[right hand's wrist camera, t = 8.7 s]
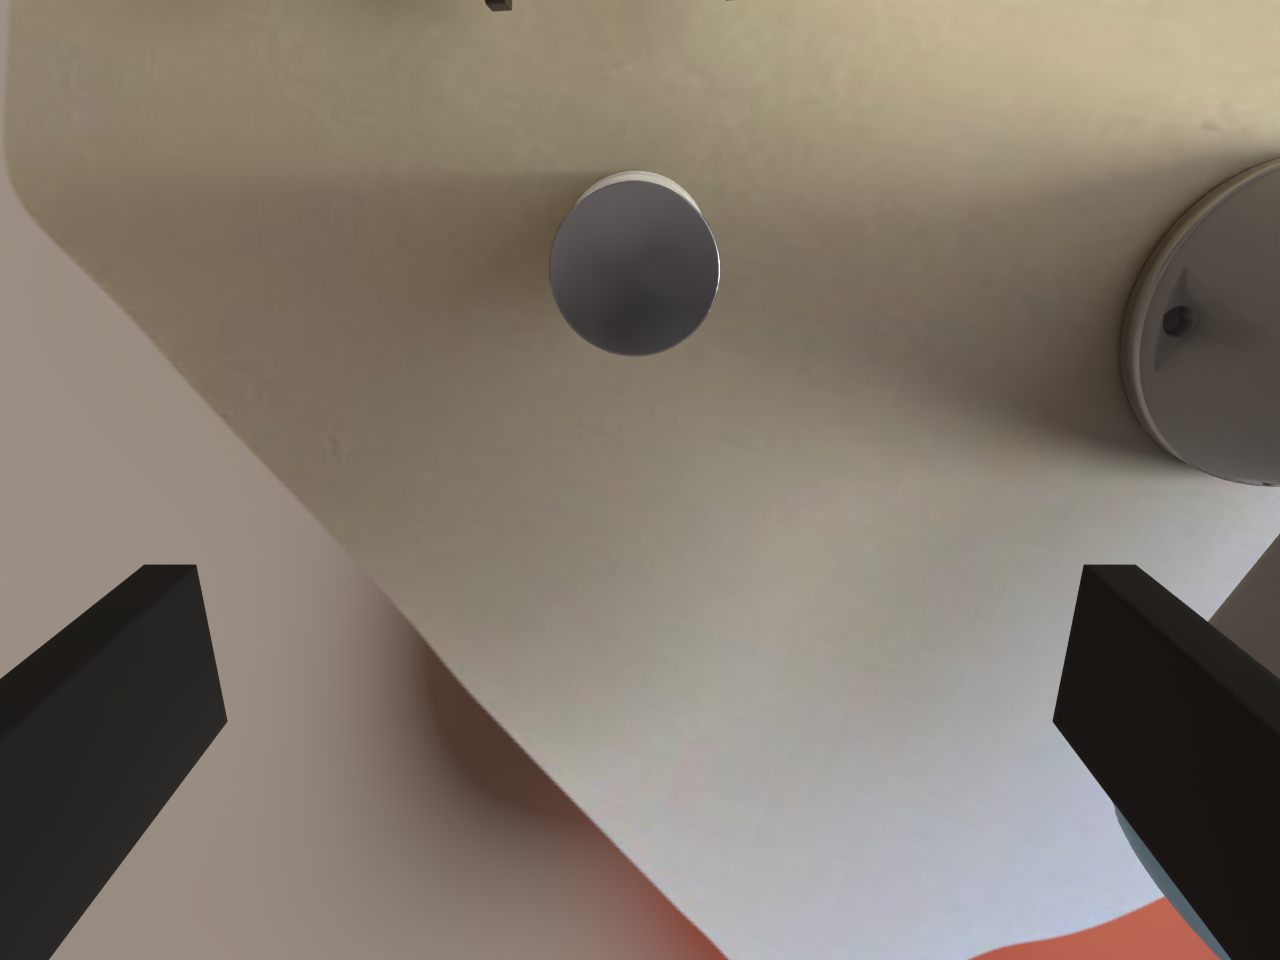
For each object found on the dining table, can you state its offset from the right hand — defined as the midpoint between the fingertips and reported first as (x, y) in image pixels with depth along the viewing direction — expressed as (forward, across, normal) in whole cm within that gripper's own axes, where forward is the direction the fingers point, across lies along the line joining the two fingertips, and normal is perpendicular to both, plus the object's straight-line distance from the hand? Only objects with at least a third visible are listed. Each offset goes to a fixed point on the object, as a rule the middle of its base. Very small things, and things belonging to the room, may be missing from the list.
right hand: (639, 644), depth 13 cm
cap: (+8, 0, +5) cm, 10 cm away
